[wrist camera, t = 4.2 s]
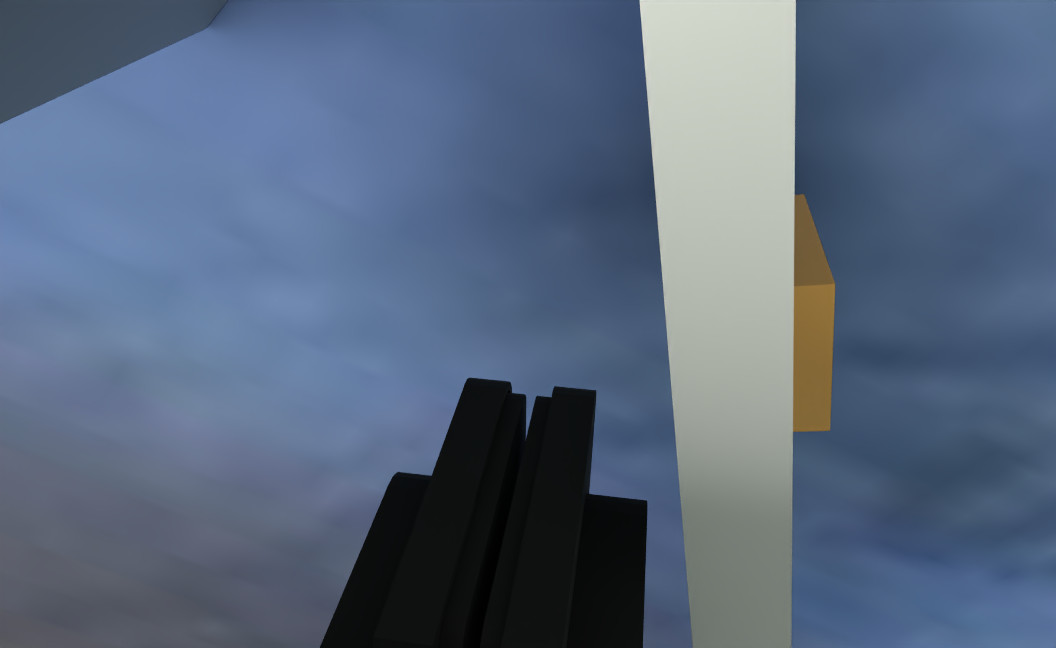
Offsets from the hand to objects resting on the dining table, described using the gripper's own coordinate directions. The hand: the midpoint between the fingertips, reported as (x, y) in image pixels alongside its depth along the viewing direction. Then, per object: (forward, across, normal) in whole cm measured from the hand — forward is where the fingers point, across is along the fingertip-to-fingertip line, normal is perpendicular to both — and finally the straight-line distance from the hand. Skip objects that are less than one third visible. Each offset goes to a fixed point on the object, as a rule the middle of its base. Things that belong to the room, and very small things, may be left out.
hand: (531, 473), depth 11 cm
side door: (+9, -2, -6) cm, 10 cm away
